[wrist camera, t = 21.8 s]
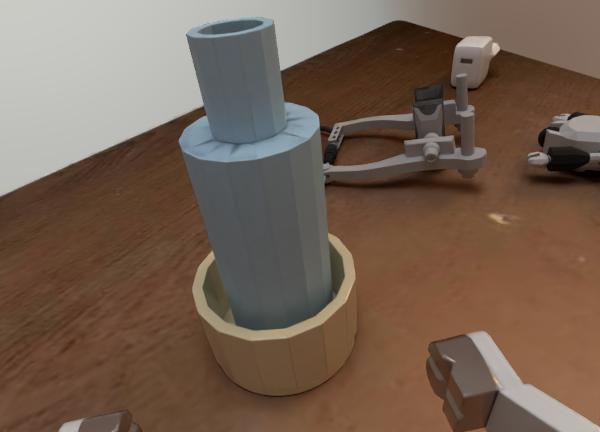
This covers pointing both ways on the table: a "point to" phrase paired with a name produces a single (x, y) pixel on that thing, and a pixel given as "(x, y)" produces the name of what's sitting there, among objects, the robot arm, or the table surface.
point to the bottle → (258, 178)
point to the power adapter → (473, 59)
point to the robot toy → (569, 144)
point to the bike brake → (429, 138)
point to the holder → (281, 333)
